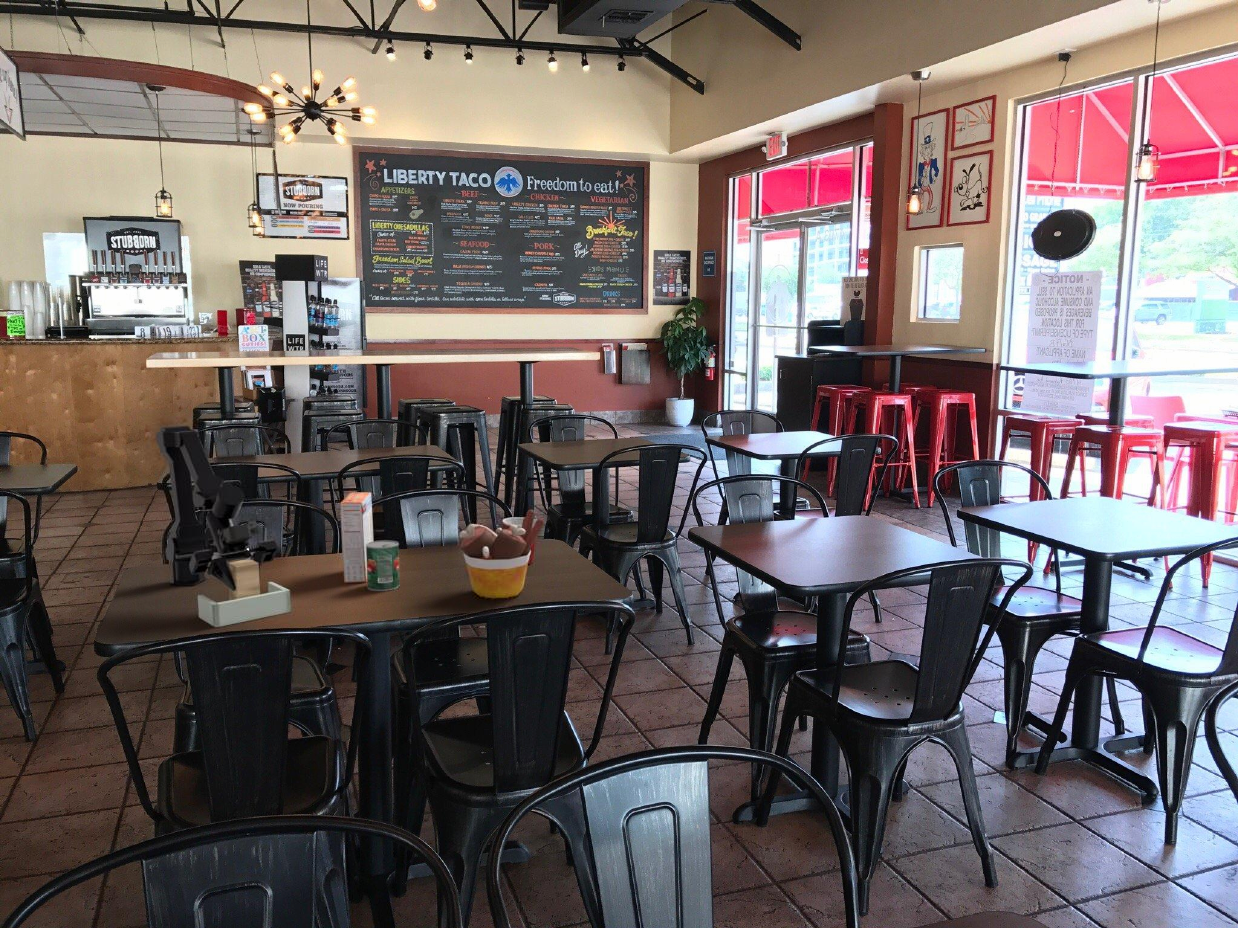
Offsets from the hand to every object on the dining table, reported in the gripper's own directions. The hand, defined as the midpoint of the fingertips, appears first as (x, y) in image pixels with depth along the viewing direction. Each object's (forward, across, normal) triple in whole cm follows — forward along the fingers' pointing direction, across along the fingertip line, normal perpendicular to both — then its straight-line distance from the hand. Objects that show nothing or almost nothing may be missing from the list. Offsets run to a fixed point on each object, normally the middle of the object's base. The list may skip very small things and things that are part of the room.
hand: (246, 587), depth 217 cm
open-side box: (+4, 0, +6) cm, 7 cm away
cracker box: (-5, +35, +15) cm, 38 cm away
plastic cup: (+7, +74, +2) cm, 75 cm away
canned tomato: (+4, +34, +6) cm, 35 cm away
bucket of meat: (+21, +53, -11) cm, 58 cm away
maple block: (+4, 0, +6) cm, 7 cm away
